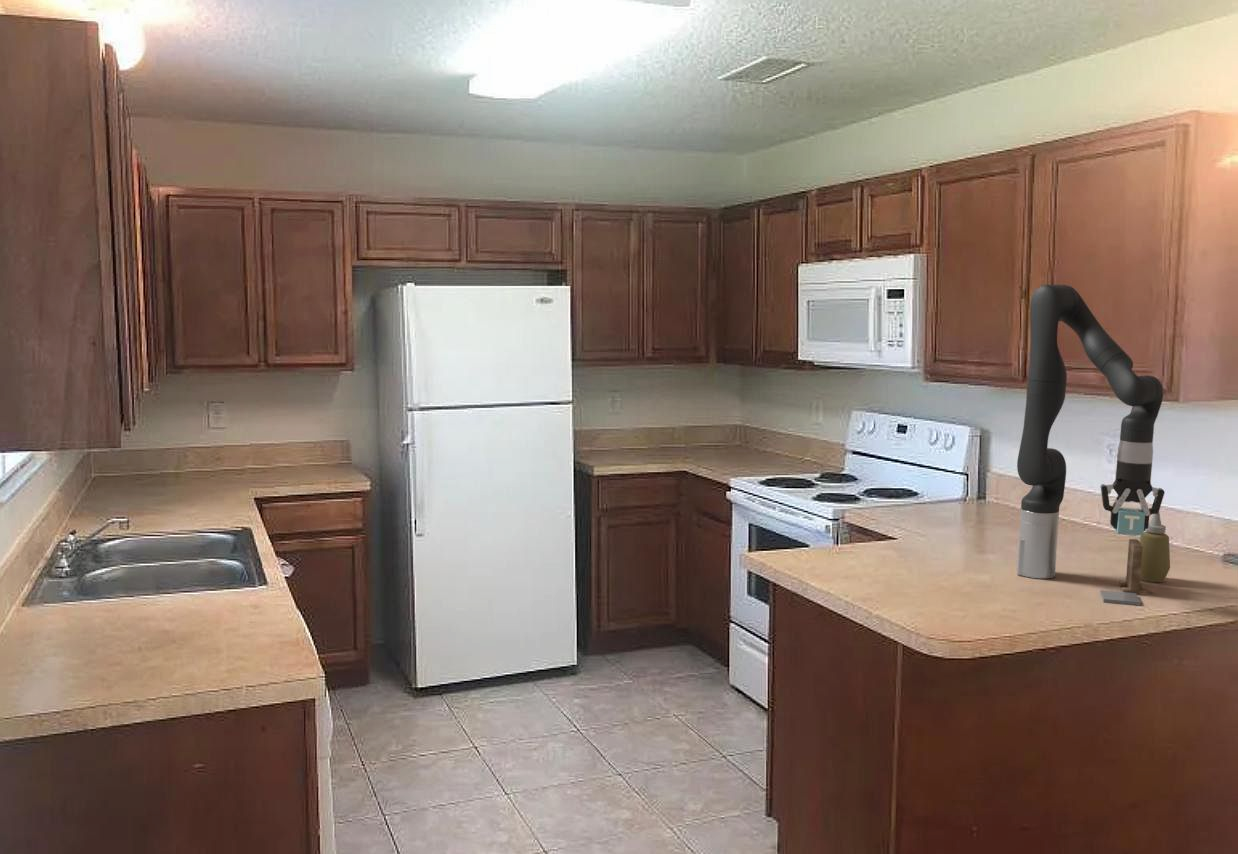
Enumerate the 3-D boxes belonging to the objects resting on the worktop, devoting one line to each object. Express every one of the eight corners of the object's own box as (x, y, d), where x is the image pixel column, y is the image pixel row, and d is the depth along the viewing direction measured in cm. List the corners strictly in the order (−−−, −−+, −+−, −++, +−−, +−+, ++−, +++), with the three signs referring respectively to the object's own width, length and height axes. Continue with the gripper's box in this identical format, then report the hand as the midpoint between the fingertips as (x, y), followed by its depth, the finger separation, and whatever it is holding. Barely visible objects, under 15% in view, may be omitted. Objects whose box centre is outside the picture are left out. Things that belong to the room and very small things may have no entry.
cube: (1117, 534, 247) (1119, 510, 246) (1114, 528, 252) (1116, 505, 251) (1143, 536, 245) (1145, 512, 244) (1139, 530, 250) (1141, 507, 250)
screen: (1123, 593, 255) (1126, 545, 254) (1119, 584, 263) (1122, 538, 261) (1145, 595, 254) (1149, 547, 252) (1141, 586, 261) (1144, 540, 260)
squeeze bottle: (1158, 575, 272) (1163, 508, 269) (1175, 584, 264) (1181, 514, 261) (1127, 575, 271) (1132, 508, 269) (1144, 584, 263) (1149, 514, 261)
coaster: (1103, 602, 248) (1103, 598, 248) (1099, 593, 255) (1100, 590, 255) (1140, 605, 245) (1140, 602, 245) (1135, 596, 253) (1135, 593, 253)
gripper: (1103, 460, 245) (1098, 530, 247) (1171, 464, 241) (1165, 535, 243) (1099, 455, 252) (1094, 523, 254) (1165, 459, 248) (1159, 528, 250)
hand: (1128, 528), depth 249 cm, fingers closed on cube, 5 cm apart
